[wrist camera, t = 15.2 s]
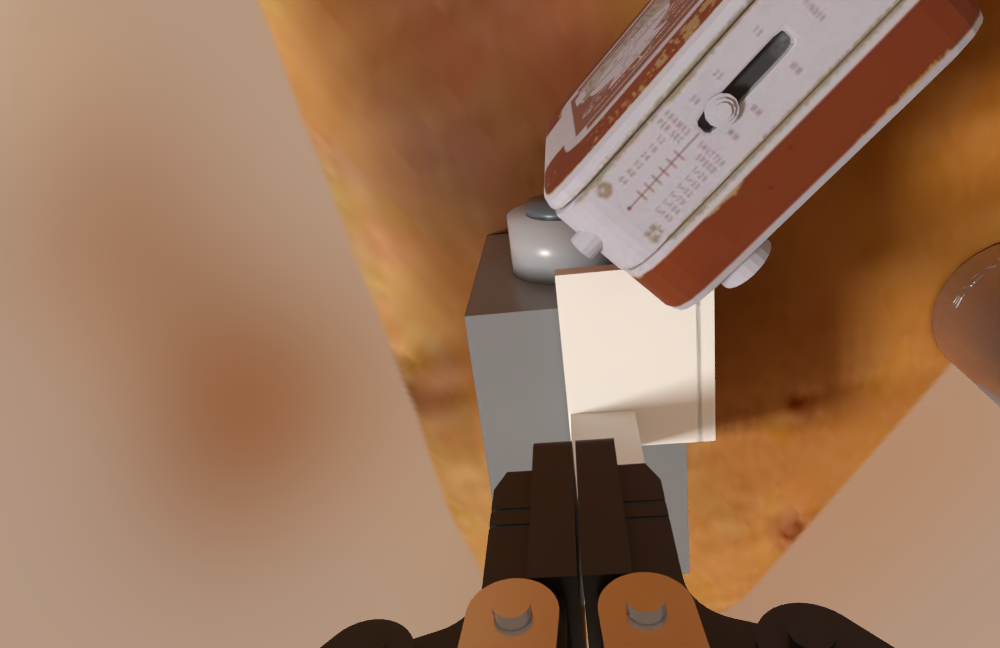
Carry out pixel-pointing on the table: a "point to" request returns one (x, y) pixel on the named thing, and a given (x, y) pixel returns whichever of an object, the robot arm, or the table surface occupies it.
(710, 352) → the grooved cream block
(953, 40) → the brown boxy piece
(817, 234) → the table surface
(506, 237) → the camera housing
